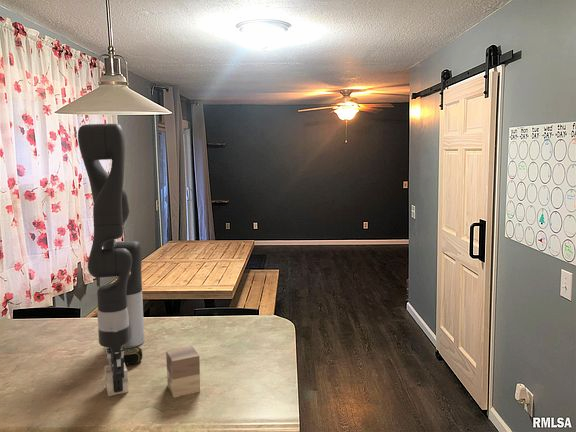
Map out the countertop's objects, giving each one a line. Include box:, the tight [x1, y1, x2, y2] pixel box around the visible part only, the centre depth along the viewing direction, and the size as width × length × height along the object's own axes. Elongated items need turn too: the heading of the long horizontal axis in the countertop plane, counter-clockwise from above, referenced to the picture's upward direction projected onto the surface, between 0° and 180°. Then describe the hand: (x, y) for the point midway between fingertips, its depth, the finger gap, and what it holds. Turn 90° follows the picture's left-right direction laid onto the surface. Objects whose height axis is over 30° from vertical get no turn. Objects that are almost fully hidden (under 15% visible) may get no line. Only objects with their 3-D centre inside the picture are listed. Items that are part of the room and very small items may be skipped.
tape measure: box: [122, 346, 143, 365], centre depth 147 cm, size 7×7×4 cm
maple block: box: [104, 363, 129, 397], centre depth 130 cm, size 5×5×6 cm
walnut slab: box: [165, 345, 201, 380], centre depth 131 cm, size 7×7×5 cm
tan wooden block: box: [166, 369, 201, 398], centre depth 131 cm, size 7×7×5 cm
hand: (116, 386), depth 131 cm, fingers closed on maple block, 5 cm apart
